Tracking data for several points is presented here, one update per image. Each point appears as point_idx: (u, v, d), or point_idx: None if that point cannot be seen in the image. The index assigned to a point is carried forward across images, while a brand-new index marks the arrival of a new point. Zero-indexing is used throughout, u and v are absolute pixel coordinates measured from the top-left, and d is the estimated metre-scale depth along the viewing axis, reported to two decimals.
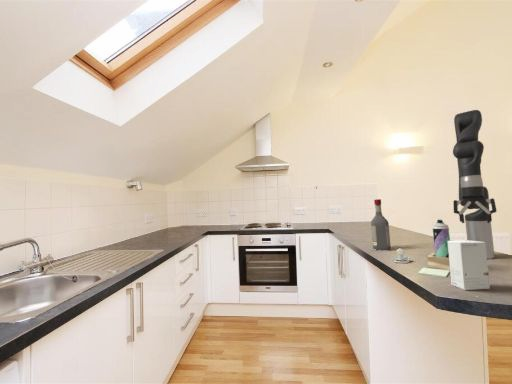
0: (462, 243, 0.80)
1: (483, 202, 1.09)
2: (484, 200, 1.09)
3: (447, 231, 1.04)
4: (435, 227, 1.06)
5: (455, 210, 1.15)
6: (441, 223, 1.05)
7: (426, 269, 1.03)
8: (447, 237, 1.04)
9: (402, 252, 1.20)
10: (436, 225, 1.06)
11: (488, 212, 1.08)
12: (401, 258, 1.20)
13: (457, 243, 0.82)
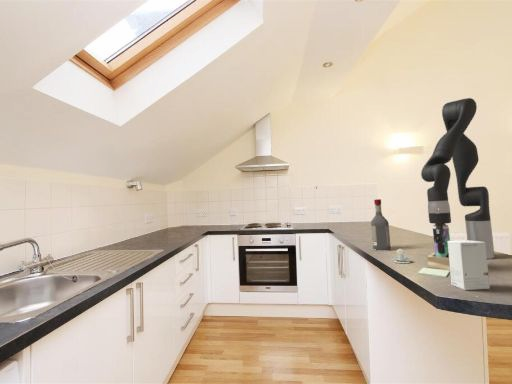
0: (462, 243, 0.80)
1: None
2: None
3: (447, 231, 1.04)
4: (435, 227, 1.06)
5: (442, 240, 1.02)
6: None
7: (426, 269, 1.03)
8: (447, 237, 1.04)
9: (402, 252, 1.19)
10: None
11: None
12: (401, 258, 1.19)
13: (457, 243, 0.82)
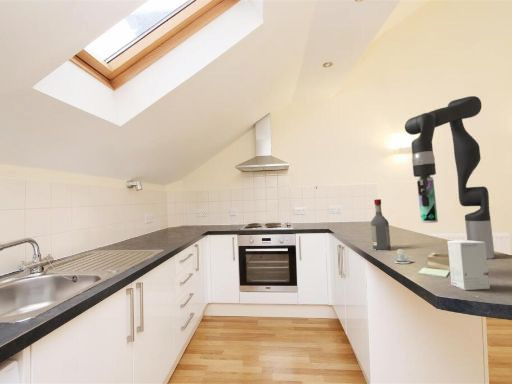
0: (462, 243, 0.80)
1: None
2: None
3: (432, 183, 0.99)
4: None
5: (426, 191, 0.97)
6: None
7: (426, 269, 1.03)
8: (432, 189, 0.99)
9: (402, 253, 1.19)
10: None
11: None
12: (401, 259, 1.18)
13: (457, 243, 0.82)
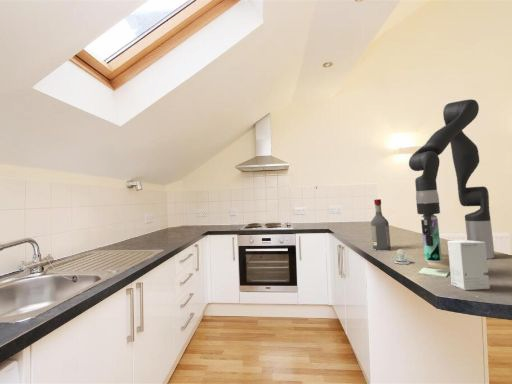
0: (462, 243, 0.80)
1: None
2: None
3: (436, 222, 0.98)
4: (423, 218, 1.00)
5: (431, 231, 0.96)
6: None
7: (426, 269, 1.03)
8: (436, 229, 0.98)
9: (402, 253, 1.18)
10: None
11: None
12: (402, 259, 1.18)
13: (457, 243, 0.82)
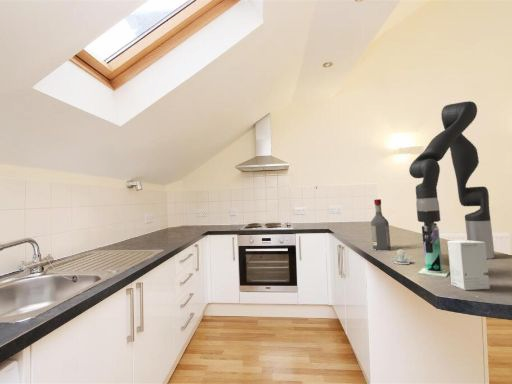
0: (462, 243, 0.80)
1: None
2: None
3: (437, 233, 0.98)
4: None
5: (430, 238, 0.95)
6: None
7: None
8: (437, 239, 0.98)
9: (402, 253, 1.18)
10: None
11: None
12: (402, 259, 1.18)
13: (457, 243, 0.82)
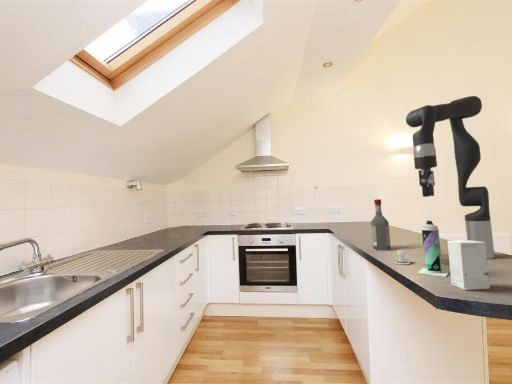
0: (462, 243, 0.80)
1: None
2: None
3: (437, 233, 0.98)
4: (424, 228, 1.00)
5: (427, 181, 0.97)
6: (430, 224, 1.00)
7: None
8: (437, 239, 0.98)
9: (402, 253, 1.17)
10: (425, 226, 1.00)
11: (433, 184, 1.05)
12: (402, 259, 1.17)
13: (457, 243, 0.82)
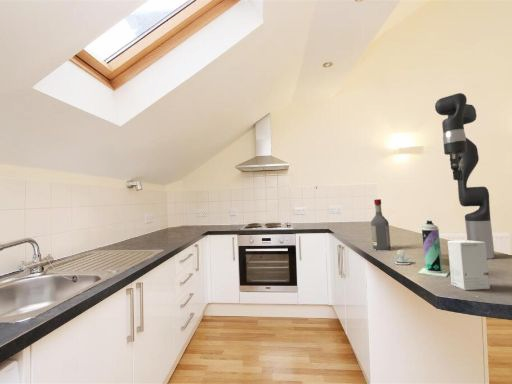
0: (462, 243, 0.80)
1: None
2: None
3: (437, 233, 0.98)
4: (424, 228, 1.00)
5: (458, 165, 1.01)
6: (430, 224, 1.00)
7: None
8: (437, 239, 0.98)
9: (402, 254, 1.17)
10: (425, 226, 1.00)
11: (462, 169, 1.09)
12: (402, 260, 1.17)
13: (457, 243, 0.82)
